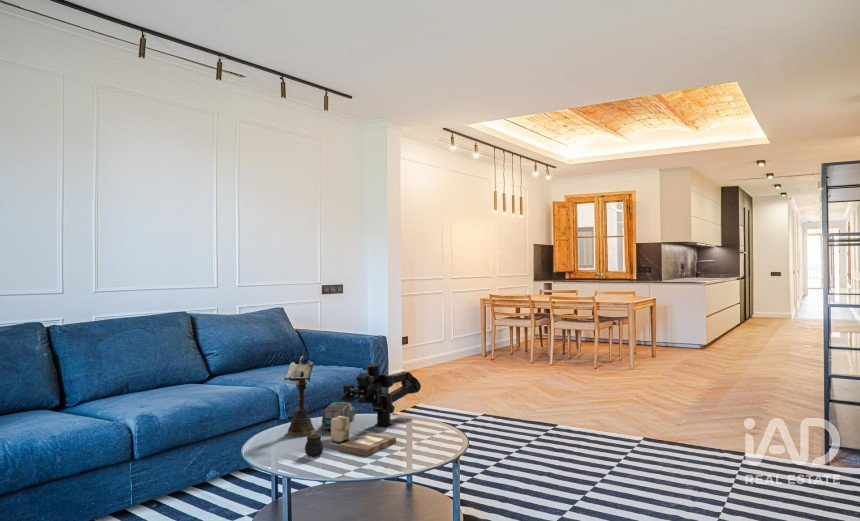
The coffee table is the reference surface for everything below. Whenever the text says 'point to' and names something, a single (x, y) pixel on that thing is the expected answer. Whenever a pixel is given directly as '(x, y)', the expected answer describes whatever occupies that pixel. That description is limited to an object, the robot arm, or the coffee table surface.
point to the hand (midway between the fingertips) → (350, 400)
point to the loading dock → (368, 444)
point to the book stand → (300, 398)
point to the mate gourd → (313, 445)
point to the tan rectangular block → (340, 429)
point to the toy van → (337, 413)
